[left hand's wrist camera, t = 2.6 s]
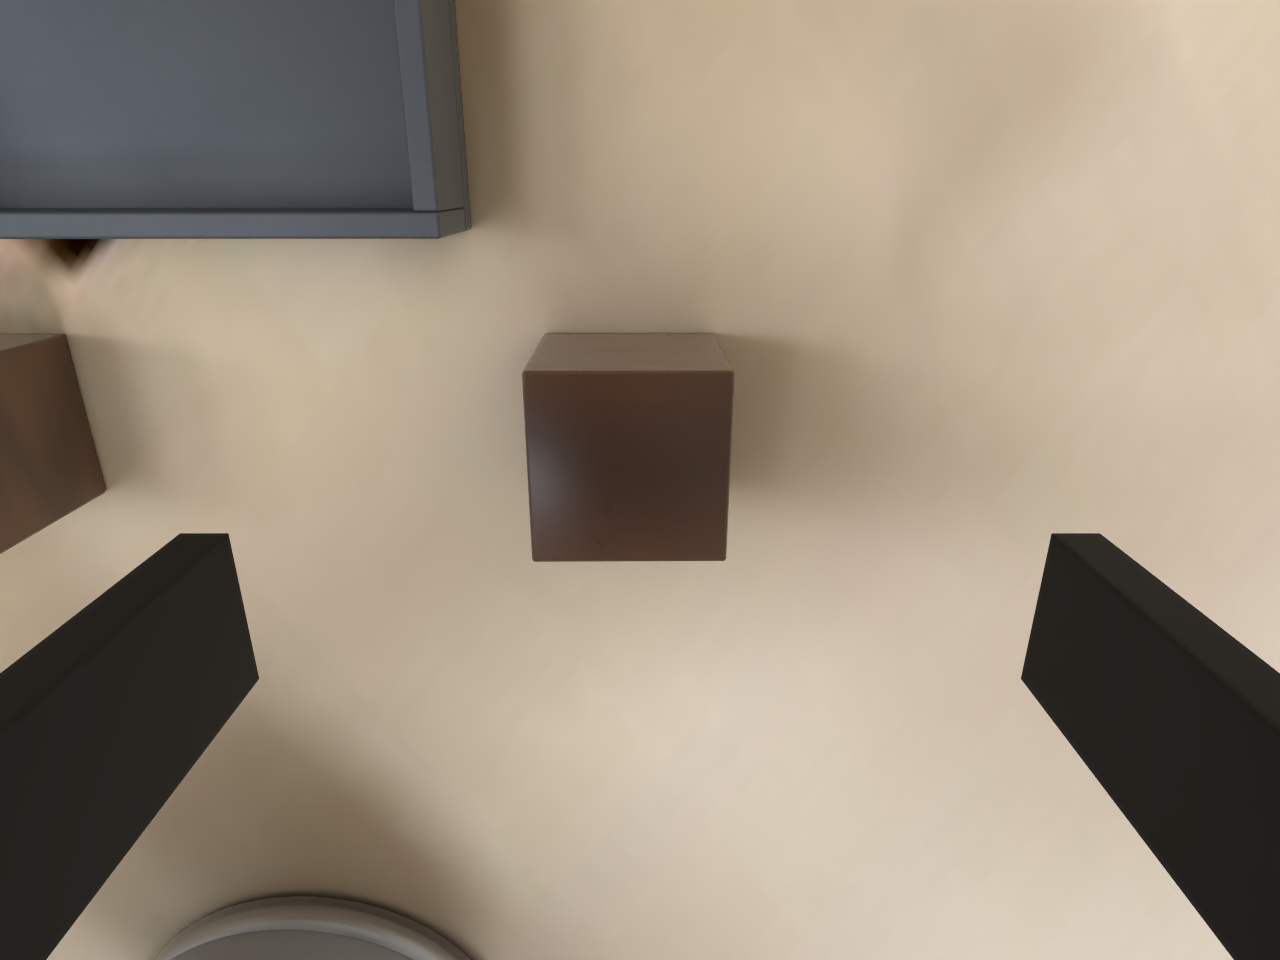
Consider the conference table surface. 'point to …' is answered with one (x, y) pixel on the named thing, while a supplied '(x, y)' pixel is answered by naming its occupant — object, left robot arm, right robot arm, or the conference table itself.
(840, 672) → the conference table surface
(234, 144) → the tray
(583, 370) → the cube
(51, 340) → the cube
